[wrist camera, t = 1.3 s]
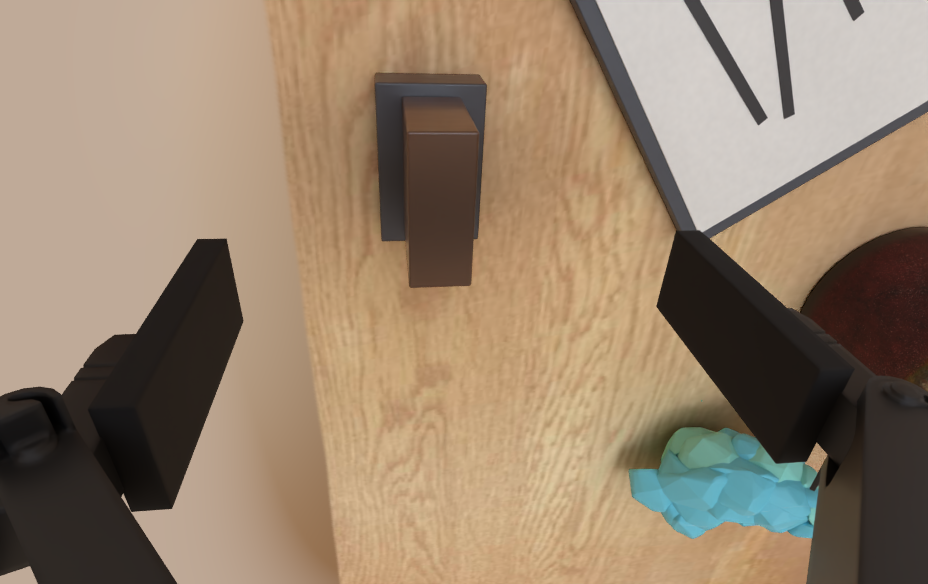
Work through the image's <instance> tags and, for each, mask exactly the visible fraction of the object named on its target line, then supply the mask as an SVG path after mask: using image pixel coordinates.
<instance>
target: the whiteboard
mask: <svg viewBox="0 0 928 584" xmlns="http://www.w3.org/2000/svg"><path fill="white" fill-rule="evenodd" d="M570 2H571V4H572V6H573V8H574V10H575V12H576V14H577V17H578V19H579V21H580V23H581V25H582V27H583V29H584V32H585V34H586V36H587V38H588V40H589V42H590V45H591V47H592V49H593V51H594V53H595V55H596V57H597V60H598V62H599V64H600V66H601V68H602V70H603V72H604V75H605V77H606V79H607V81H608V83H609V85H610V87H611V90H612V92H613V94H614V96H615V98H616V100H617V102H618V105H619V107H620V109H621V111H622V113H623V115H624V117H625V120H626V122H627V124H628V126H629V128H630V130H631V133H632V135H633V137H634V139H635V141H636V143H637V145H638V148H639V150H640V152H641V154H642V156H643V158H644V160H645V163H646V165H647V167H648V169H649V171H650V173H651V175H652V178H653V180H654V182H655V184H656V186H657V188H658V190H659V193H660V195H661V197H662V199H663V201H664V203H665V205H666V208H667V210H668V212H669V214H670V216H671V218H672V221H673V223H674V225H675V227H676V229H677V231H686V230H700V231H701V232H702V233H703V234H705V235H706V236H707V237H708V238H711V237H713V236H714V235H716V234H718V233H720V232H721V231H723V230H725V229H727V228H728V227H730V226H732V225H733V224H735V223H737V222H739V221H740V220H742V219H744V218H746V217H747V216H749V215H751V214H752V213H754V212H756V211H758V210H759V209H761V208H763V207H764V206H766V205H768V204H770V203H771V202H773V201H775V200H777V199H778V198H780V197H782V196H783V195H785V194H787V193H789V192H790V191H792V190H794V189H796V188H797V187H799V186H801V185H802V184H804V183H806V182H808V181H809V180H811V179H813V178H815V177H816V176H818V175H820V174H821V173H823V172H825V171H827V170H828V169H830V168H832V167H834V166H835V165H837V164H839V163H840V162H842V161H844V160H846V159H847V158H849V157H851V156H853V155H854V154H856V153H858V152H859V151H861V150H863V149H865V148H866V147H868V146H870V145H871V144H873V143H875V142H877V141H878V140H880V139H882V138H884V137H885V136H887V135H889V134H890V133H892V132H894V131H896V130H897V129H899V128H901V127H903V126H904V125H906V124H908V123H909V122H911V121H913V120H915V119H916V118H918V117H920V116H922V115H923V114H925V113H927V112H928V0H570Z"/></svg>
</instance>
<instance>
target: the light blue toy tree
mask: <svg viewBox="0 0 928 584" xmlns="http://www.w3.org/2000/svg"><path fill="white" fill-rule="evenodd" d="M701 402H702V400H701ZM817 474H818V473H817V472H816V471H815V470H814V469H813V468H812V467H810V466H808V465H806V464H805V462H795V463H782V464H775V462H774V461H773V460H772V458H771V457H770V456H769V454H768V453H767V452H766V450H765V449H764V448H763V446H762V445H761V444H760V442H759V441H758V440H757V438H756V437H753V436H750V435H748V434H745V433H743V434H740V433H739V432H737V431H734V430H732V429H729V428H723V429H722V430H720V431H718V432H714V431H711V430H708V429H705V428H702V427H686V428H681V429H679V430H678V431H676V432H675V433H674V434H673V435H672V437H671V438H670V440H669V441H668V443H667V445H666V448H665V450H664V453H663V455H662V457H661V465H660V467H659V469H629V478H630V485H631V493H632V497H633V498H634V499H636V500H637V501H639V502H640V503H642V504H643V505H645V506H646V507H648V508H649V509H651V510H652V511H656V512H661V514H662V515H663V517H664V518H665V520H666V521H667V523H668V524H670V525H671V526H672V527H673V529H674V530H676V531H677V532H680V533H682V534H684V535H686V536H687V537H689V538H692V539H694V538H697V537H699V536H701V535H703V534H704V533H705V531H707V530H710V529H713V528H715V527H717V526H719V525H720V524H722V523H723V522H725V521H728V522H736V523H739V524H740V525H742V526H755V525H759V526H762V527H764V528H766V529H767V530H769V531H771V532H778V533H782V532H785V531H788V532H789V533H790V534H792V535H793V536H796V537H803V538H812V536H813V528H814V520H815V512H816V504H817V497H818V489H819V486H818V487H817V488H816V490H815V491H812V490H810V489H809V488H810V486H811V485H812V483H813V481H814V479H815V477H816V476H817Z"/></svg>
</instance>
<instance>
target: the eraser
mask: <svg viewBox="0 0 928 584" xmlns="http://www.w3.org/2000/svg"><path fill="white" fill-rule="evenodd" d="M486 92H487V85H486V83H485V82H484V81H483V79H482V78H481V77H480V75H468V74H407V73H376V74H375V101H376V124H377V147H378V170H379V193H380V216H381V239H382V241H405V244H406V255H407V267H408V278H409V286H410V287H411V288H419V287H449V286H470V285H471V278H472V259H473V241H474V239H478V229H479V212H480V195H481V178H482V161H483V144H484V127H485V110H486Z"/></svg>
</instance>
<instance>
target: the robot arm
mask: <svg viewBox="0 0 928 584" xmlns="http://www.w3.org/2000/svg"><path fill="white" fill-rule="evenodd" d="M656 307H657V308H658V309H659V311H660V312H661V313H662V315H663V316H664V317H665V319H666V320H667V321H668V323H669V324H670V325H671V326H672V328H673V329H674V330H675V332H676V333H677V334H678V336H679V337H680V338H681V340H682V341H683V342H684V344H685V345H686V346H687V348H688V349H689V350H690V352H691V353H692V354H693V355H694V357H695V358H696V359H697V361H698V362H699V363H700V365H701V366H702V367H703V369H704V370H705V371H706V373H707V374H708V375H709V377H710V378H711V379H712V380H713V382H714V383H715V384H716V386H717V387H718V388H719V390H720V391H721V392H722V394H723V395H724V396H725V398H726V399H727V400H728V402H729V403H730V404H731V406H732V407H733V408H734V409H735V411H736V412H737V413H738V415H739V416H740V417H741V419H742V420H743V421H744V423H745V424H746V425H747V427H748V428H749V429H750V431H751V432H752V433H753V435H754V436H755V437H756V438H757V440H758V441H759V442H760V444H761V445H762V446H763V448H764V449H765V450H766V452H767V453H768V454H769V456H770V457H771V458H772V460H773V461H774V462H775V464H782V463H795V462H806V461H807V460H808V458H809V456H810V454H811V452H812V450H813V448H814V446H815V444H816V442H817V443H818V444H819V445H820V446H821V448H822V449H823V450H824V451H825V452H826V453H827V454H828V455H827V457H826V459H825V461H824V463H823V465H822V466H821V468H820V470H819V472H818V474H817V476H816V477H815V479H814V481H813V483H812V485H811V486H810V488H809V489H810V490H812V491H815V490H816V488H817V487H818V486H819V489H818V497H817V504H816V512H815V520H814V528H813V536H812V544H811V551H810V559H809V567H808V575H807V583H806V584H928V392H927V391H925V390H924V389H922V388H921V387H919V386H917V385H915V384H913V383H911V382H908V381H906V380H903V379H900V378H896V377H891V376H876V375H875V374H874V373H873V372H872V371H871V370H869V369H868V368H867V367H866V366H865V365H864V364H863V363H861V362H860V361H859V360H858V359H857V358H856V357H854V356H853V355H852V354H851V353H850V352H849V351H848V350H846V349H845V348H844V347H843V346H842V345H841V344H837V341H836V340H835V339H834V338H833V337H831V336H830V335H829V334H826V333H825V332H826V331H825V330H823V329H822V328H821V327H820V326H819V325H818V324H816V323H815V322H814V321H813V320H812V319H810V318H809V317H807V316H805V315H803V314H801V313H799V312H797V311H796V310H794V309H792V308H786V307H785V306H784V305H783V304H782V303H781V302H780V301H778V300H777V299H776V298H775V297H774V296H773V295H772V294H771V293H769V292H768V291H767V290H766V289H765V288H764V287H763V286H762V285H761V284H759V283H758V282H757V281H756V280H755V279H754V278H753V277H752V276H750V275H749V274H748V273H747V272H746V271H745V270H744V269H743V268H742V267H740V266H739V265H738V264H737V263H736V262H735V261H734V260H733V259H731V258H730V257H729V256H728V255H727V254H726V253H725V252H724V251H722V250H721V249H720V248H719V247H718V246H717V245H716V244H715V243H714V242H712V241H711V240H710V239H709V238H708V237H707V236H706V235H705V234H703V233H702V232H701V231H700V230H686V231H676V233H675V237H674V241H673V245H672V249H671V253H670V256H669V260H668V264H667V268H666V272H665V275H664V279H663V283H662V287H661V291H660V294H659V298H658V302H657V306H656ZM242 323H243V317H242V312H241V307H240V302H239V297H238V293H237V288H236V283H235V278H234V273H233V268H232V263H231V258H230V253H229V249H228V244H227V239H197V241H196V242H195V244H194V245H193V247H192V248H191V250H190V252H189V253H188V254H187V256H186V257H185V259H184V261H183V262H182V264H181V265H180V267H179V268H178V270H177V271H176V273H175V274H174V276H173V278H172V279H171V281H170V282H169V284H168V285H167V287H166V288H165V290H164V291H163V293H162V295H161V296H160V298H159V299H158V301H157V303H156V304H155V306H154V307H153V309H152V310H151V312H150V313H149V315H148V316H147V318H146V319H145V321H144V322H143V324H142V326H141V327H140V329H139V330H138V332H137V333H136V334H125V335H124V334H123V335H114V336H112V337H111V338H109V339H108V340H107V341H105V342H104V343H103V344H101V345H100V346H99V347H97V348H96V349H95V350H94V351H93V352H92V354H91V355H90V357H89V358H88V359H87V361H86V362H85V363H84V367H83V368H81V369H80V370H79V372H78V373H77V374H76V376H75V377H74V381H71V383H70V384H69V386H68V387H67V388H66V390H65V391H64V392H63V394H62V395H61V394H60V393H58V392H57V391H55V390H54V389H51V388H44V387H33V388H24V389H20V390H17V391H14V392H10V393H7V394H4V395H2V396H0V576H1V575H4V574H7V573H10V572H13V571H16V570H19V569H22V568H25V567H28V566H30V567H31V569H32V571H33V573H34V576H35V578H36V580H37V582H38V584H177V582H176V581H175V579H174V578H173V576H172V575H171V573H170V572H169V570H168V569H167V567H166V565H165V564H164V562H163V561H162V559H161V558H160V556H159V555H158V553H157V552H156V550H155V549H154V547H153V545H152V544H151V542H150V541H149V540H148V538H147V537H146V535H145V533H144V532H143V530H142V529H141V527H140V526H139V524H138V523H137V521H136V520H135V518H134V516H133V515H132V513H131V512H135V511H147V510H162V509H172V507H173V505H174V502H175V500H176V497H177V494H178V492H179V489H180V486H181V484H182V481H183V479H184V475H185V473H186V471H187V468H188V465H189V463H190V460H191V458H192V455H193V452H194V450H195V447H196V444H197V442H198V439H199V437H200V434H201V431H202V429H203V426H204V423H205V421H206V418H207V416H208V413H209V410H210V407H211V405H212V402H213V400H214V397H215V395H216V392H217V389H218V387H219V384H220V381H221V379H222V376H223V373H224V371H225V368H226V365H227V363H228V360H229V357H230V355H231V352H232V350H233V347H234V345H235V342H236V339H237V337H238V334H239V331H240V329H241V326H242ZM123 493H124V496H125V498H126V500H127V503H128V505H129V507H130V510H131V512H130V510H129V509H128V507H127V506H126V504H125V503H124V501H123V499H122V498H121V497H122V494H123Z"/></svg>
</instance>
